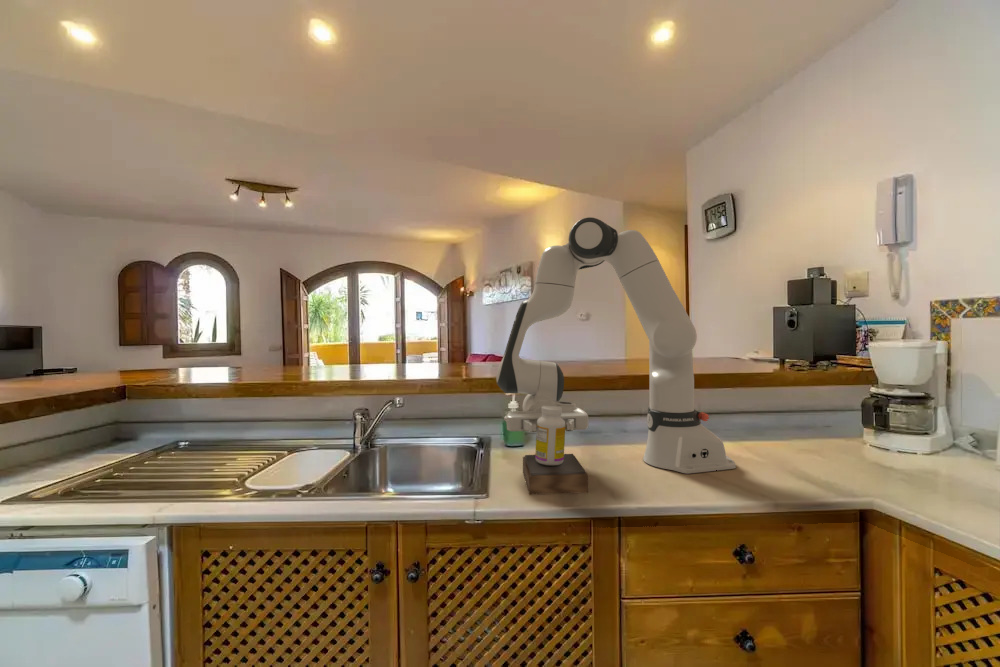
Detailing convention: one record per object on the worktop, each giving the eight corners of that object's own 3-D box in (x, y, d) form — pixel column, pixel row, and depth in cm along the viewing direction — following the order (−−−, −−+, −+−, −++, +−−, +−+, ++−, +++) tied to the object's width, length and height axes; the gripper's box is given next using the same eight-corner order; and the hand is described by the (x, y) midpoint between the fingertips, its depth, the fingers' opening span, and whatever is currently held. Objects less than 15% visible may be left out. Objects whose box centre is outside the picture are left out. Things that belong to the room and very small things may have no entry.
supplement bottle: (562, 458, 109) (565, 405, 109) (564, 467, 102) (567, 411, 102) (535, 456, 110) (538, 403, 109) (534, 465, 103) (537, 409, 103)
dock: (574, 471, 114) (574, 453, 113) (588, 492, 100) (587, 472, 99) (522, 472, 113) (522, 454, 113) (529, 494, 99) (529, 473, 99)
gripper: (503, 404, 118) (506, 415, 104) (580, 402, 119) (594, 413, 105) (503, 428, 118) (506, 443, 105) (581, 426, 119) (594, 440, 106)
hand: (551, 428), depth 105 cm, fingers open, 7 cm apart
